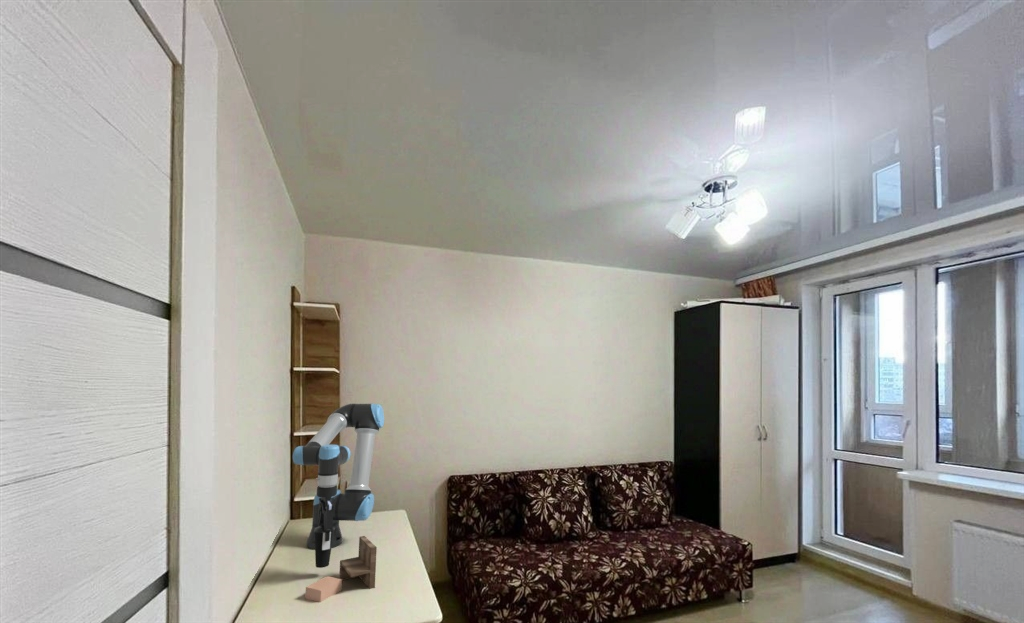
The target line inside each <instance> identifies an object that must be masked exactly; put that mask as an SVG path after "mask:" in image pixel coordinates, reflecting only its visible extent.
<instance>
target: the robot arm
mask: <svg viewBox="0 0 1024 623" xmlns="http://www.w3.org/2000/svg"><path fill="white" fill-rule="evenodd" d="M384 413H385V412H384V408H383V406H382V405H381V404H378V403H348V404H345V405H342V406H340V407H338V408H337V409H335V410H334V411H333V412H332V413H330V415H329V416H328V417H327V421H326V422H325V423H324V425H323V426H322V427H321V428H320V429H319V430H318V431H317V432H316V433H315V434H314V436H313V437H312V438H311V439H310V440H309V441H308V442H307V444H306V445H299V446H296V447H295V448H294V450H293V451H292V452H293V453H292V462H293V464H294V465H297V466H300V465H302V466H318V469H317V470H318V471H317V477H316V478H315V479H316V481H317V488H316V494H315V495H314V498H313V504H312V507H313V508H312V525H311V529H310V532H309V535H308V538H307V540H306V547H307V548H308V549H311V550H315V532H314V529H315V528H317V527H319V526H321V525H324V531H322V533H323V542H322V550H327V549H330V537H331V531H333V526H334V527H335V529H334V533H333V540H332V547H331V549H332V548H335V547H338V546H339V545H341V544H342V543H343V535H342V532H341V528H340V521H345V522H346V521H349V522H350V521H351V522H361V521H367V520H368V519H369V518H370V516H371V514H372V512H373V509H374V505H375V495H374V494H373V493H372V489H371V488H370V486H369V485H370V484H369V483H370V477H371V471H372V470H371V468H372V463H373V462H372V461H373V456H374V455H373V454H374V446H375V440H376V435H378V434H379V432H380V429H381V428H383V427H384V425H385V414H384ZM346 428H354V432H355V433H356V440H355V448H354V454H353V462H352V467H351V475H350V481H349V485H348V487H347V488H345V491H344V493H342V491H341V489H339V488H338V482H339V466H342V465H344V464H345V463H347V462H348V461H349V460H350V458H351V453H352V452H351V449H350V448H349V447H347V446H346V445H338V444H331V443H332V442H333V440H334V439H335V438H336V437H337V436H338V435H339V433H340V432H342V431H343V430H345V429H346Z"/></svg>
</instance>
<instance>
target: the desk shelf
mask: <svg viewBox="0 0 1024 623" xmlns="http://www.w3.org/2000/svg"><path fill="white" fill-rule="evenodd" d="M358 538H359V539H358V556H356V557H351V558H346V559H340V561H339V574H338V575H339V576H338V579H342V581H343V580H348V579H352V578H353V579H354V578H358V577H359V578H360V579H361V580H362V582H363V583H364V584H365V586H366V587H367V588H368V589H373V588H374V589H375V588H376V572H377V570H376V566H377V550H378V549H377V546H376V545H375V544H374V543H373V542H371V540H370V539H369V538H367V536H365V535H362V536H359V537H358Z"/></svg>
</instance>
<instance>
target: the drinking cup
mask: <svg viewBox="0 0 1024 623" xmlns="http://www.w3.org/2000/svg"><path fill="white" fill-rule="evenodd" d="M334 529H335V527H334V526H333V531H331V537H330V549H327V550H322V542H323V533H322V531H324V525H321V526H319V527H317V528H315V529H314V532H315V549H314V550H315V551H314V552H315V553H314V554H315V555H314V557H315V567H316V568H318V569H319V568H320V569H321V568H326V567H328V566H329V565H330V559H331V553H332V548H333V547H332V540H333V533H334ZM331 547H332V548H331Z"/></svg>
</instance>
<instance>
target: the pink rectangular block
mask: <svg viewBox="0 0 1024 623" xmlns="http://www.w3.org/2000/svg"><path fill="white" fill-rule="evenodd" d="M342 583H343V580H342V579H339V577H338V578H337V577H332V576H327V575H326V576H325V577H323V578H321V579H319V580H317V581H315V582H313V583H311V584H309V585H307V586H306V587H305V594H304V595H305V596H304V598H305V599H306V600H310V601H315V602H318V603H322V602H323V601H325V600H328V599H329V598H331V597H332V596H334V595H336V594H338V593H339V592H341V591H342V586H343V584H342Z"/></svg>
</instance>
